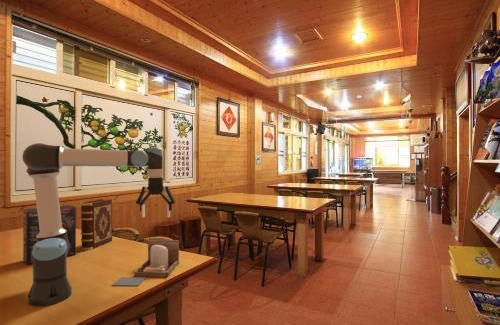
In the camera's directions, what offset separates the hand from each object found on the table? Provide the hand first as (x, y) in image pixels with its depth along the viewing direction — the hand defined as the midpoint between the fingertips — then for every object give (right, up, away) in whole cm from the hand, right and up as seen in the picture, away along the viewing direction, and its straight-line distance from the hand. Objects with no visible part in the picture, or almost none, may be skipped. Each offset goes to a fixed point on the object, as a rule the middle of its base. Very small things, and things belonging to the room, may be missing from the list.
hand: (156, 217), depth 156 cm
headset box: (-68, -28, +18) cm, 76 cm away
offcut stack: (+2, -27, -8) cm, 28 cm away
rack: (+2, -27, -2) cm, 27 cm away
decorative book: (-54, -27, +44) cm, 75 cm away
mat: (-7, -27, -18) cm, 33 cm away
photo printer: (+2, -27, -1) cm, 27 cm away
